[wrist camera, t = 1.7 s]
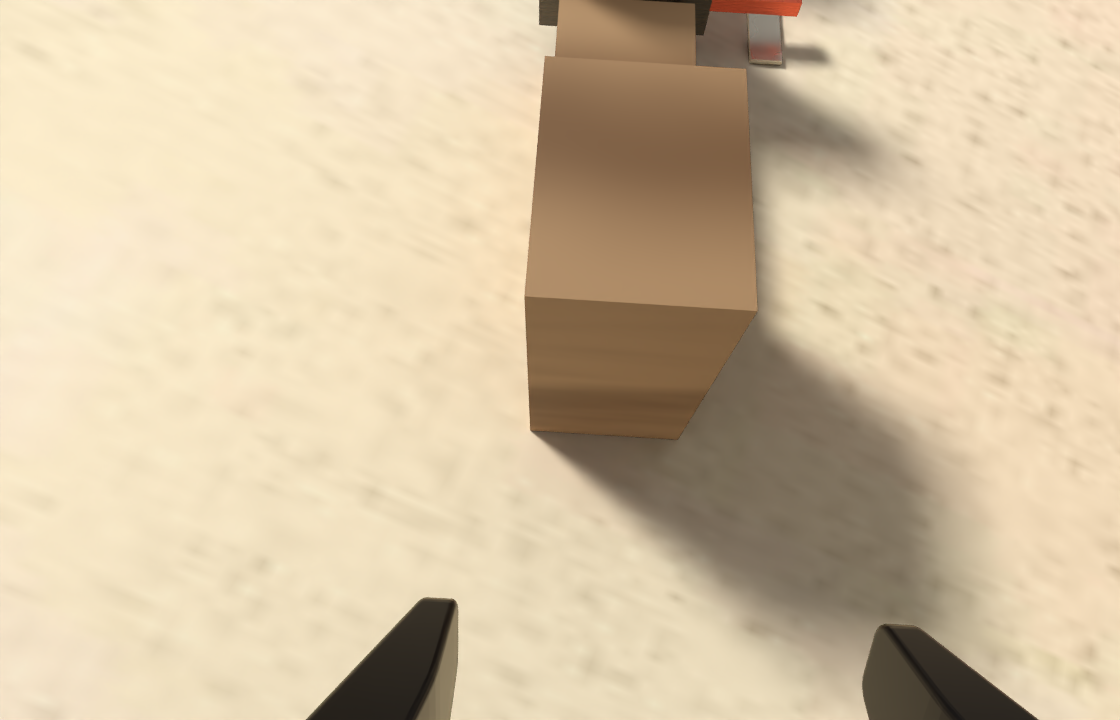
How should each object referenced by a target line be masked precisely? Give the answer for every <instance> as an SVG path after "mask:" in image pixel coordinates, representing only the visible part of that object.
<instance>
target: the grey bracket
mask: <svg viewBox="0 0 1120 720" xmlns="http://www.w3.org/2000/svg"><path fill="white" fill-rule="evenodd" d="M643 1H659V2H675V3H691V4H695V35H703V34H704V30H705V26H706V23H707V19H708V15H709V11H716V12H732V13H748V14H764V15H780V16H796V17H797V15H798V12H799V10H800V7H801V5H802V0H643ZM558 12H559V0H539V25H549V26H557V24H558Z"/></svg>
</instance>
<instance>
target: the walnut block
mask: <svg viewBox="0 0 1120 720" xmlns="http://www.w3.org/2000/svg"><path fill="white" fill-rule="evenodd" d="M757 311H758V309H757V288H756V267H755V245H754V224H753V202H752V181H751V159H750V138H749V116H748V95H747V73H746V69H740V68H724V67H708V66H696V39H695V4H691V3H675V2H659V1H643V0H559V12H558V24H557V37H556V50H555V57H551V56H545V62H544V74H543V85H542V97H541V109H540V121H539V132H538V144H537V156H536V168H535V179H534V191H533V203H532V215H531V227H530V238H529V250H528V262H527V274H526V285H525V318H526V341H527V365H528V388H529V411H530V430H532V431H548V432H563V433H579V434H595V435H611V436H627V437H643V438H659V439H674V440H678V438H679V437H680V435H681V433H682V432H683V430H684V429H685V427H686V425H687V424H688V422H689V421H690V419H691V417H692V416H693V414H694V412H695V411H696V409H697V408H698V406H699V404H700V403H701V401H702V400H703V398H704V396H705V395H706V393H707V392H708V390H709V388H710V387H711V385H712V384H713V382H714V380H715V379H716V377H717V375H718V374H719V372H720V371H721V369H722V367H723V366H724V364H725V363H726V361H727V359H728V358H729V356H730V355H731V353H732V351H733V350H734V348H735V347H736V345H737V343H738V342H739V340H740V338H741V337H742V335H743V334H744V332H745V330H746V329H747V327H748V326H749V324H750V322H751V321H752V319H753V318H754V316H755V314H756V313H757Z"/></svg>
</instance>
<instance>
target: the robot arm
mask: <svg viewBox="0 0 1120 720" xmlns="http://www.w3.org/2000/svg"><path fill="white" fill-rule="evenodd" d="M457 665H458V604H457V602H456V601H455V600H454V599H447V598H430V597H427V598H423V599H421V600H419V601H418V602H417V603H416V604H415V605H414V607H413V608H412V609H411V610H410V611H409V612H408V613H407V614H406V615H405V616H404V617H403V618H402V619H401V620H400V621H399V622H398V623H397V624H396V625H395V627H394V628H393V629H392V630H391V631H390V632H389V633H388V634H387V635H386V636H385V637H384V638H383V639H382V640H381V641H380V642H379V643H378V644H377V645H376V647H375V648H374V649H373V650H372V651H371V652H370V653H369V654H368V655H367V656H366V657H365V658H364V659H363V660H362V661H361V662H360V663H359V664H358V665H357V667H356V668H355V669H354V670H353V671H352V672H351V673H350V674H349V675H348V676H347V677H346V678H345V679H344V680H343V681H342V682H341V683H340V684H339V685H338V687H337V688H336V689H335V690H334V691H333V692H332V693H331V694H330V695H329V696H328V697H327V698H326V699H325V700H324V701H323V702H322V703H321V704H320V705H319V707H318V708H317V709H316V710H315V711H314V712H313V713H312V714H311V715H310V716H309V717H308V718H307V719H306V720H450V717H451V709H452V702H453V695H454V688H455V681H456V674H457ZM862 690H863V697H864V702H865V705H866V709H867V713H868V717H869V720H1038V719H1037V718H1036V717H1034V716H1033V715H1032V714H1030V713H1029V712H1028V711H1027V710H1025V709H1024V708H1023V707H1021V706H1020V705H1019V704H1018V703H1016V702H1015V701H1014V700H1012V699H1011V698H1010V697H1008V696H1007V695H1006V694H1005V693H1003V692H1002V691H1001V690H999V689H998V688H997V687H996V686H994V685H993V684H992V683H990V682H989V681H988V680H986V679H985V678H984V677H983V676H981V675H980V674H979V673H977V672H976V671H975V670H974V669H972V668H971V667H970V666H968V665H967V664H966V663H964V662H963V661H962V660H961V659H959V658H958V657H957V656H955V655H954V654H953V653H952V652H950V651H949V650H948V649H946V648H945V647H944V646H942V645H941V644H940V643H939V642H937V641H936V640H935V639H933V638H932V637H931V636H929V635H928V634H927V633H926V632H924V631H923V630H921V629H920V628H918V627H916V626H912V625H898V624H884V625H881V626H879V628H878V629H877V630H876V633H875V635H874V639H873V642H872V646H871V649H870V653H869V656H868V660H867V664H866V667H865V671H864V675H863V681H862Z"/></svg>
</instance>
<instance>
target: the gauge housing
mask: <svg viewBox="0 0 1120 720" xmlns="http://www.w3.org/2000/svg"><path fill="white" fill-rule="evenodd" d="M747 26H748V47H749V63H755V64H771V65H781V63H782V49H781V35H780V20H779V15H764V14H748V13H747Z"/></svg>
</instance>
